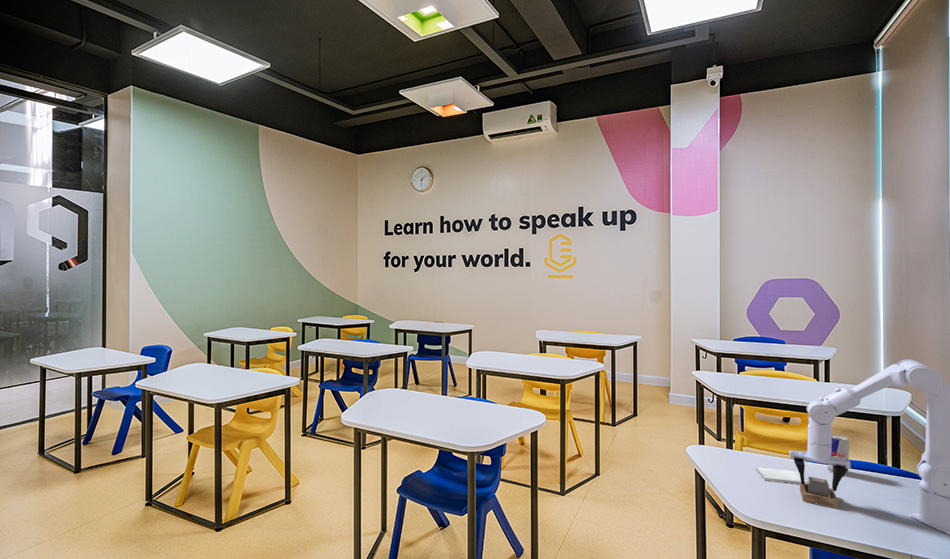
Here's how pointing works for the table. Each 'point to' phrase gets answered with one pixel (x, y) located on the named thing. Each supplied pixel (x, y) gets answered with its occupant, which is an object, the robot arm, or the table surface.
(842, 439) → the energy drink
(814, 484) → the block
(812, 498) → the wooden tray
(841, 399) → the robot arm
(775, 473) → the hard drive
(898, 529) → the table surface
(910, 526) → the table surface
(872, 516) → the table surface
